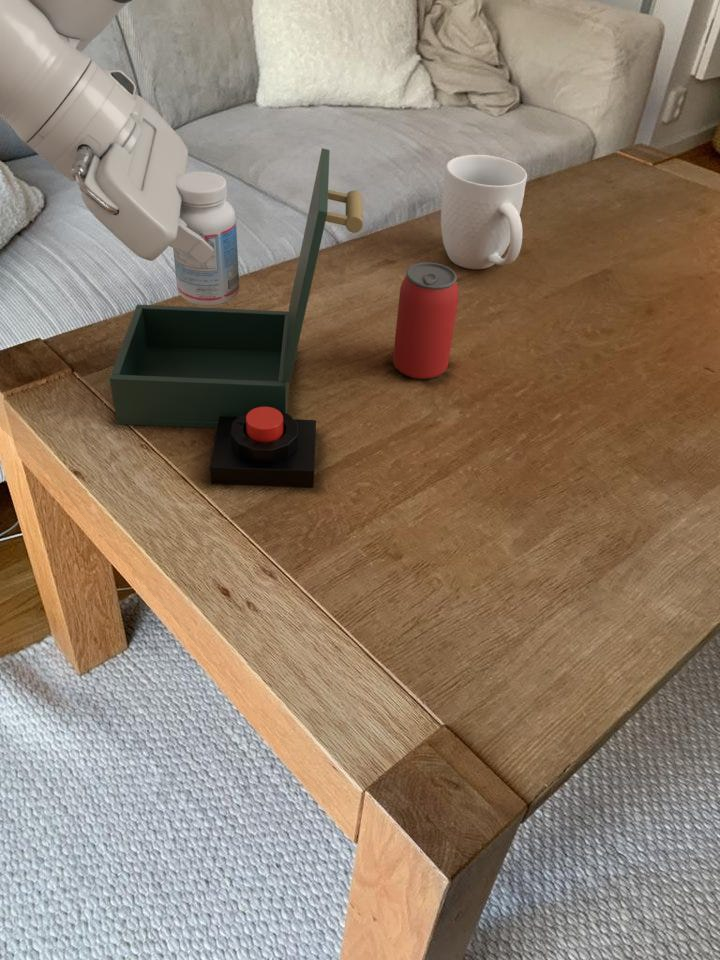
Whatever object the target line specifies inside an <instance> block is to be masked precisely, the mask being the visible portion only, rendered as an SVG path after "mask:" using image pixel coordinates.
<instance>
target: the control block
mask: <svg viewBox="0 0 720 960" xmlns="http://www.w3.org/2000/svg"><path fill="white" fill-rule="evenodd" d="M278 411H279V410H278ZM248 412H249V411H248ZM248 412H245V413H242V414H241V415H240V416H239V417H226V416H219V420H218V426H217V428H216V431H215V437H214V442H213V447H212V453H211V459H210V463H209V464H210V465H209V474H210V484H211V485H235V486H258V487H259V486H261V487H263V486H264V487H286V488H287V487H289V488H290V487H291V488H314V487H315V466H316V465H315V464H316V444H317V443H316V441H317V440H316V439H317V420H316V419H299V418H293V416H292V415H290V414H289V413H288V412H287V413H284V412H282V411H280V412H281V414H282V415H283V434H282V436H281V437H280V438H279V439H278V440H274V441H271V442H257V441H255V440H252V439H250V438H249V437H248V435H247V432H246V416H247V414H248Z"/></svg>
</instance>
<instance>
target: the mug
mask: <svg viewBox="0 0 720 960" xmlns="http://www.w3.org/2000/svg"><path fill="white" fill-rule="evenodd" d="M527 179H528V173H527V171H526V170H525V169H524V168H523V167H522V166H521V165H520V164H518V163H516V162H514V161H511V160H509V159H506V158H502V157H499V156H495V155H488V154H466V155H460V156H457V157H454V158H452V159H450V160H449V161H448V162H447V163H446V166H445V173H444V180H443V186H442V195H441V201H440V202H441V204H440V207H441V208H440V228H441V238H442V243H443V246H444V249H445V252H446V254H447V257H448V258H449V260H450V261H451V262H452V263H453V264H454V265H456V266H458V267H461V268H464V269H468V270H485V269H488V268H490V267H492V266H494V265H498V266H507V265H510V264H512V263H513V262H515V261H516V260H517V258H518V256H519V255H520V252H521V249H522V244H523V224H522V219H521V216H520V214H521V211H522V207H523V203H524V202H523V201H524V197H525V191H526V186H527ZM507 249H508V251H507V253H506V255H505V257H504V258H503V255H504V254H505V252H506V250H507Z"/></svg>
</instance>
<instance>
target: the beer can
mask: <svg viewBox="0 0 720 960" xmlns="http://www.w3.org/2000/svg"><path fill="white" fill-rule="evenodd" d="M457 280H458V275H457V273H456V272H455V271H454V270H453V269H452V268H451V267H449V266H446V265H445V264H441V263H437V262H430V261H429V262H420V263H414V264H413V265H411V266H409V267H408V268H407V270H406V274H405V276H404V278H403V280H402V282H401V284H400V287H399V297H398V299H399V300H398V307H397V316H396V325H395V335H394V346H393V355H392V363H393V365H394V367H395V368H396V369H397V370H398V372H400V373H401V374H403V375H404V376H407V377H409V378H412V379H418V380H428V379H434V378H437V377H439V376H440V375H442V374H443V373H445V371H446V370H447V368H448V367H449V362H450V361H449V360H450V355H451V348H452V343H453V342H452V341H453V335H454V329H455V324H456V318H457V317H456V316H457V311H458V305H459V304H458V303H459V293H460V292H459V286H458V283H457V282H458V281H457Z"/></svg>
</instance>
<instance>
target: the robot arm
mask: <svg viewBox="0 0 720 960" xmlns="http://www.w3.org/2000/svg"><path fill="white" fill-rule="evenodd" d="M132 1H133V0H0V117H1V118H2V119H3V120H4V121H5V122H6V123H7V124H8V125H9V126H10V127H11V128H12V129H13V131H14V132H15V134H16V135H17V137H18V138H19V139H20V140H21V141H22V142H23V143H24V144H26V145H27V146H28V147H29V148H31V149H32V150H33V151H34V152H35V153H37V155H39V156H40V157H41V158H43V160H45V161H46V162H47V163H48V164H50V165H51V166H52V167H53V168H55V169H56V170H57V171H58V172H60V173H61V175H63V176H64V177H65V178H66V179H68V180H69V181H70V182H76V183H77V184H78V186H79V191H80V192H81V199H82V201H83V204H84V205H85V206H86V208H87V209H88V210H89V212H90V213H91V214H92V215H93V216H94V217H95V218H96V219H97V221H99V223H101V224H102V225H103V226H104V227H105V228H106V229H107V230H108V231H109V232H110V233H112V235H113V236H114V237H116V238H117V240H119V241H120V242H122V244H123V245H125V246H126V248H127V249H129V250H130V251H131V252H133V254H135V255H136V256H138V257H139V258H141V259H144V260H146V261H150V262H153V261H155V260H156V259H158V257H160V255H162V254H163V253H164V252H165V251H166V250H167V248H169V247H170V248H172V249H173V248H175V249H177V250H180V251H183V252H185V253H188V254H190V255H191V256H192V257H193V258H194V259H195V260H197V261H198V262H199V263H201V264H203V263H206V262H207V261H208V260H209V259H210V258H211V257H212V256H213V255H214V244H213V243H212V242H211V241H210V240H208V238H207V237H206V236H205V235H203V234H202V233H201V234H200V235H198V234H197V233H195V232H193V231H192V230H190V229H189V228H187V224H186V223H185V222H184V221H183V220H182V219H181V218H180V217H179V216H180V209H181V202H182V196H181V194H180V192H179V190H178V189H177V187H176V179H177V177H179V176H180V175H183V174H185V173H187V172H186V171H187V164H188V159H189V158H188V157H189V149H188V148H187V146H186V144H185V143H184V141H183V140H182V138H181V137H180V135H179V134H178V133H177V132H176V131H175V130H174V129H173V128H172V126H171V125H169V123H168V122H167V121H166V120H165V119H164V118H163V116H161V115H160V114H159V113H158V112H157V111H156V109H154V107H152V105H151V104H149V102H148V101H146V100H145V99H144V98H143V97H142V96H141V95H138V94H136V91H137V86H136V84H135V82H134V81H133V80H132V79H131V78H130V77H129V76H128V75H127V74H126V73H124V72H123V71H122V70H120V69H112V70H111V69H110V70H107V69H104V68H101V67H100V66H99V65H98V64H97V63H96V62H95V61H94V60H93V59H91V57H90V56H88V55H87V54H86V53H84V50H85V49H86V48H87V47H88V46H89V44H91V42H92V41H93V40H94V39H95V38H97V37H98V36H99V35H100V34H101V33H102V32H103V31H104V30H105V29H106V28H107V26H108V25H109V24H110V23H111V22H112V21H113V20H114V18H115V17H116V16H117V15H118V14H120V11H122V9H123V8H124V7H125V6H126V5H127V3H130V2H132Z"/></svg>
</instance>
